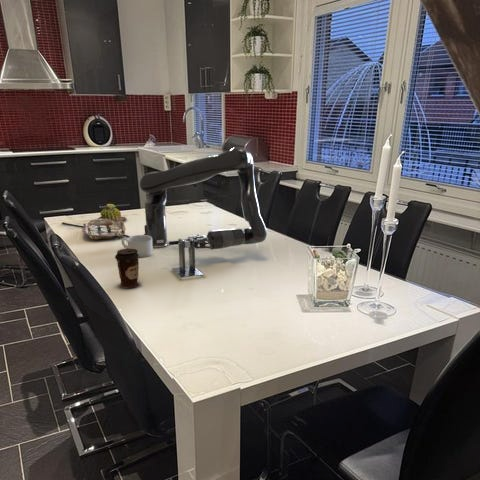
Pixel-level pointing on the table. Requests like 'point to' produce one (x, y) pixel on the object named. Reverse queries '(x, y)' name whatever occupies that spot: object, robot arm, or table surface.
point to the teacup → (139, 244)
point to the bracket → (190, 269)
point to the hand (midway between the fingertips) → (181, 243)
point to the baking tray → (104, 229)
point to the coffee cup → (128, 267)
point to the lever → (186, 243)
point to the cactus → (111, 213)
